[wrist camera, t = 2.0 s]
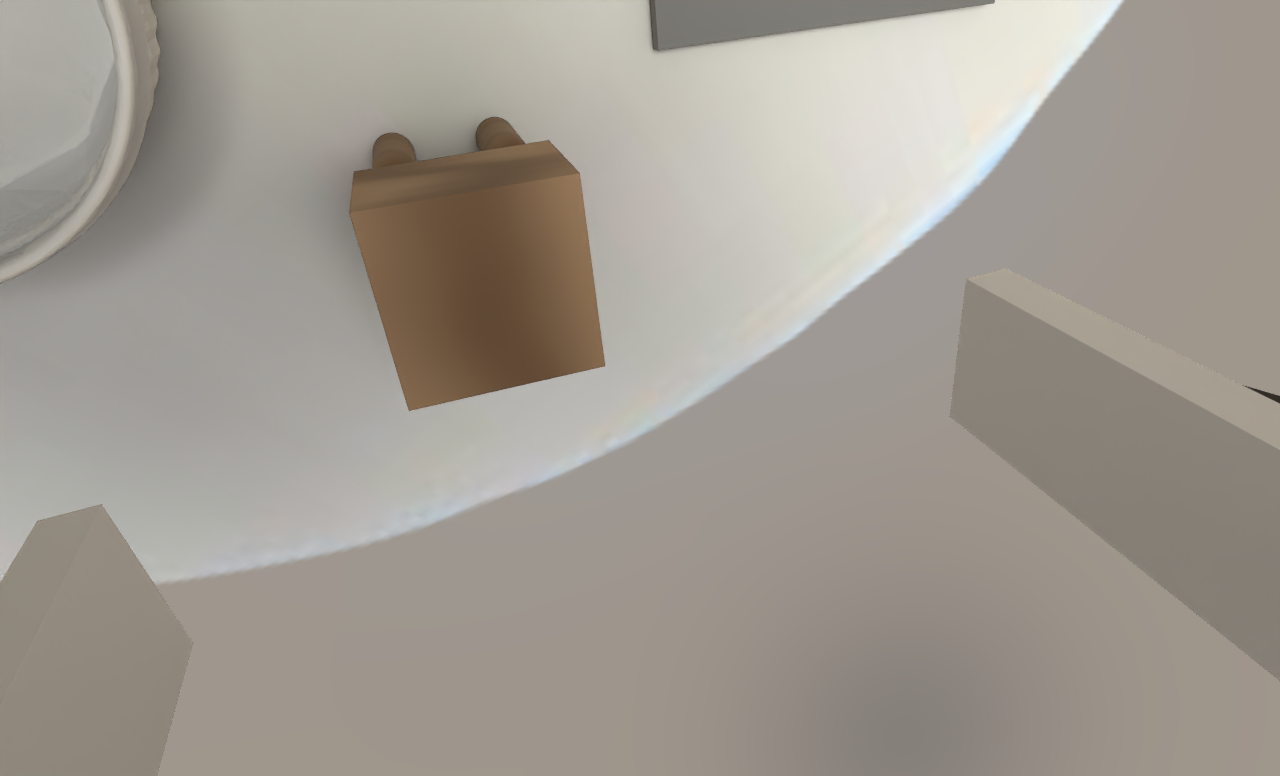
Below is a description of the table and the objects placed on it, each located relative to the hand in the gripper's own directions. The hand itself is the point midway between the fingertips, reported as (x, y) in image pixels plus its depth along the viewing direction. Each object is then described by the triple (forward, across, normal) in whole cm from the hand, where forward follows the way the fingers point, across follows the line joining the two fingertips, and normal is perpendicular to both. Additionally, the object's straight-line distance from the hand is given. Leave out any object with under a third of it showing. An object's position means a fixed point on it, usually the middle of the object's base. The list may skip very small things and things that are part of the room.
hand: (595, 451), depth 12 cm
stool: (+19, -1, -1) cm, 19 cm away
